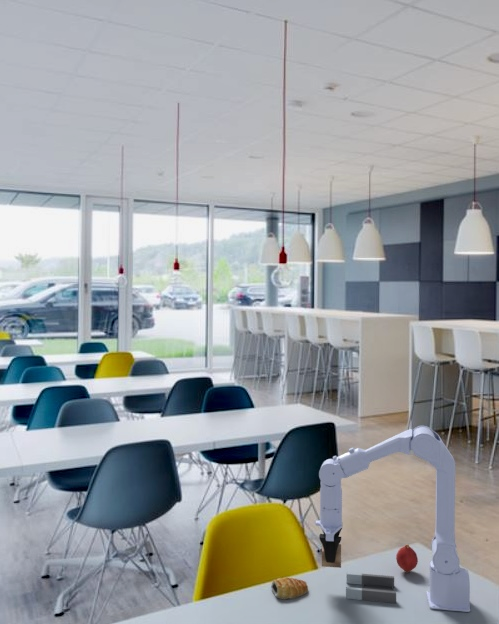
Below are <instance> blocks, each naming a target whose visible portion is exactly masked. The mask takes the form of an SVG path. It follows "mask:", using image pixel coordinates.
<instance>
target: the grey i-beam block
mask: <svg viewBox="0 0 499 624" xmlns="http://www.w3.org/2000/svg"><path fill="white" fill-rule="evenodd" d="M346 584H351V585H361V586H363V588H362V587H351V586H350V587H349V586H346V587H345V600H346V599H348V600H358V601H359V600H360V601H369V602H379V603H389V604H390V603H393V604H397V591H396V590H395V591H394V589H393V588H395V576H394V575H383V574H382V575H381V574H373V573H372V574H370V573H359V572H358V573H357V572H348V571H347V572H346Z"/></svg>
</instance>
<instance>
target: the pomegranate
mask: <svg viewBox="0 0 499 624" xmlns="http://www.w3.org/2000/svg"><path fill="white" fill-rule="evenodd" d="M395 559H396V563H397V565H398V566H399V568H400V569H402V570H403V571H404V572H405V573H410V572H411V571H413V570H414V569H415V568H416V567H417V566H418V562H419V561H418V560H419V559H418V556H417V553H416V551H415V550H414V549H413V547H411V546H410V545H409V544H408V543H406V544H405V545H404V546H402V547H401V548H399V549H398V551H397V553H396V558H395Z"/></svg>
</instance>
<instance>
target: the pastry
mask: <svg viewBox="0 0 499 624" xmlns="http://www.w3.org/2000/svg"><path fill="white" fill-rule="evenodd" d="M270 587H271V590H272V591H271V592H272V594H273V595H275V597H276V598H278V599H280V600H287V599H291V600H292V599H295V598H298V597H301V596H303V595H305V594H306V593H308V591H309V587H308V585H307V582H306V581H305V580H302V579H297V578H293V577H286V576H285V577H283V578H282V577H278V578H277V579H273V580H272V582H271V586H270Z"/></svg>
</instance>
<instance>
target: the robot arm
mask: <svg viewBox="0 0 499 624" xmlns="http://www.w3.org/2000/svg"><path fill="white" fill-rule="evenodd" d="M411 451H412V453H413V455H415V456H416V457H418V458H420V459H421V460H424V461H426V462H428V463H429V464H431V466H432V467H434V468H435V525H434V536H433V538H432V540H431V542H430V549H431V552H432V560H431V561H430V562H429V590H426V598H427V601H428V606H429V609H432V610H443V611H453V612H463V613H469V612H471V609H470V607H471V606H470V604H471V601H470V598H471V594H470V593H471V592H470V591H471V590H470V589H471V587H470V586H471V585H470V584H471V583H470V574H469V570H468V569H467V568H464V567H460V565H461V564H460V557H459V555H458V550H457V543H456V533H455V532H456V531H455V530H456V529H455V528H456V527H455V526H456V525H455V524H456V516H455V515H456V509H455V508H456V461H455V458H454V456H453V455H452V453H451V452H450V450H449V449H448V448H447V446H446V444H445V443H444V442H443V440H442V438H441V437H440V435H439V433H437V432H436V431H434V430H433V428H431V427H429V426H427V425H418V426H416V427H414V428H413V429H412V428H410V429H406V430H404V431H402V432H400V433H398V434H396V435H394V436H391V437H390V438H387V439H385V440H383V441H381V442H379V443H377V444H375V445H373V446H371V447H369V448H367V449H363V448H360V447H357V448H355V447H350V448H349V449H348V451H347V452H345V453H343V454H341V455H339V456H337V455H333V456H332V458H328V459H326V460H324V461H323V462H322V464H321V466H320V469H319V471H318V477H319V480H320V488H319V510H320V511H319V520H318V519H316V520H315V526H318V527H320V529H321V530H322V532H323V533H319V534H318V535H319V536H318V539H319V541H320V543H321V546H322V545H323V548H324V553H325V558H326V562H330V563H334V562H335V559H336V552H337V548H338V545H339V544H341V541H342V536H340V534H341V532H342V530H343V525H344V524H343V488H342V479H346V478H349V477H352V476H353V475H356V474H358V473H361V472H363V471H366V470H368V469H369V467H370V463H372V462H375V461H376V460H380V459H382V458H385V457H388V456H390V455H393V454H397V453H399V452H400V453H403V454H404V455H405V454H406V455H409V456H410V455H411Z"/></svg>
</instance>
